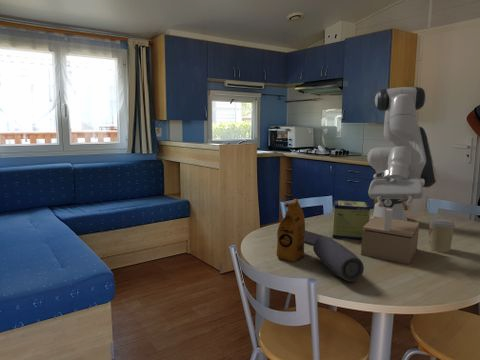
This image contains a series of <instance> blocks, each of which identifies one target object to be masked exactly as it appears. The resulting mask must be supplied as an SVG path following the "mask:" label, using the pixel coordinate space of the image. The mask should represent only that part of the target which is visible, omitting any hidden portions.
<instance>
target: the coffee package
mask: <svg viewBox="0 0 480 360" xmlns="http://www.w3.org/2000/svg"><path fill="white" fill-rule="evenodd" d="M284 207H285V208H287V211H286V212H285V215H284V217H283V218H282V219H281V221H280V222H279V225H278V229H277V232H276V235H277V237H276V239H277V241H276V244H277V245H276V256H277V258H278V259H279V260H280V259H281V260H284V261H287V262H297V261H298V260H299V259H301V258H302V257H303V256H304V253H305V243H304V239H305V231H306V222H305V220H306V219H305V214H304V211H303V208H302V207H301V205H300V203H299V201H298V198H293V199H292V202H288V203H286V204H284Z"/></svg>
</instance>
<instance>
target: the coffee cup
mask: <svg viewBox="0 0 480 360" xmlns="http://www.w3.org/2000/svg"><path fill="white" fill-rule="evenodd" d="M455 226H456V224H455V223H454V222H453V221H451V220H447V219H442V218H441V219H440V218H432V219H430V221H429V232H428V233H429V236H428V238H429V239H428V240H429V241H428V249H429V250H431V251H433V252H437V253H443V254H446V253H449V252H450V250H451V247H452V240H453V236H454V230H455Z"/></svg>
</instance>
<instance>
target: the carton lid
mask: <svg viewBox="0 0 480 360" xmlns="http://www.w3.org/2000/svg"><path fill="white" fill-rule="evenodd" d="M392 213H393V209H388V208H387V209H386V213H385V218H382V217H375V216H374V217H373V218H372V219H369V222H368V223H367V224H366V225H365V226H363V229H364V230H370V231H376V232H382V233H388V234H395V235H401V236H407V237H412V236H413V235H414V233H415V231H416V229H417V228H418V226H419V227H420V222H417V221H415V222H414V221H408V220H407V221H403V220H396V219H392Z"/></svg>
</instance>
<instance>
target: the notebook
mask: <svg viewBox="0 0 480 360" xmlns="http://www.w3.org/2000/svg"><path fill="white" fill-rule="evenodd" d="M323 236H324V235H322V234H319V233H316V232H311V231H307V230H305V239H304V245H305V244H306V245H308V246H312V247H313V246H314V243H315V242H316V240H317V239H318V238H320V237H323ZM328 237H329V238H331V239H333V237H330V236H328Z"/></svg>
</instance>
